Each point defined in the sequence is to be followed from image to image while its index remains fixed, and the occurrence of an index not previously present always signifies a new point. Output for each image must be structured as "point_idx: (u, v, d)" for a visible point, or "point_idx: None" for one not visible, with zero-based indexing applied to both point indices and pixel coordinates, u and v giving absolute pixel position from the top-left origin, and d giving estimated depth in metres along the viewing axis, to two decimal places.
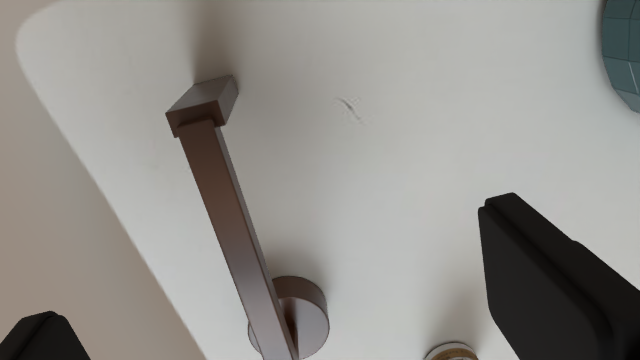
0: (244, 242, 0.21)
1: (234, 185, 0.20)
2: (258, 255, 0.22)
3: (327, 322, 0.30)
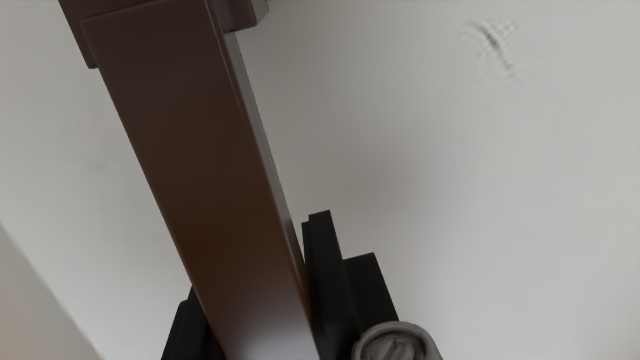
0: None
1: (283, 222, 0.07)
2: None
3: None
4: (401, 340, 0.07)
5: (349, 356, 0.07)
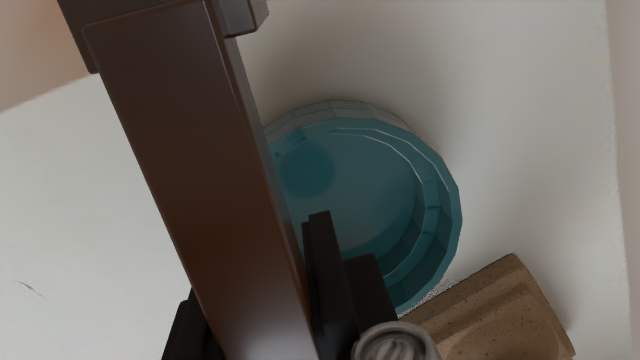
0: None
1: (283, 226, 0.07)
2: None
3: None
4: (401, 340, 0.07)
5: (349, 356, 0.07)
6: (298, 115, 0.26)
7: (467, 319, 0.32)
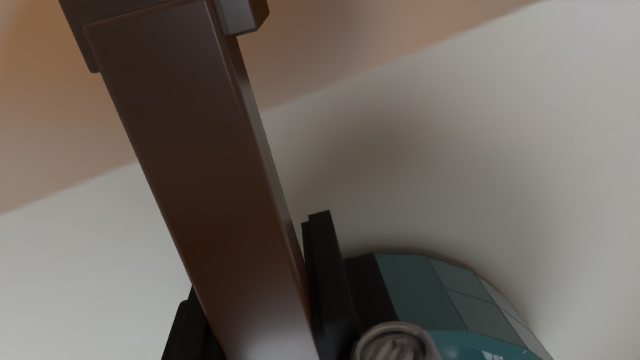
0: None
1: (284, 225, 0.07)
2: None
3: None
4: (401, 340, 0.07)
5: (349, 356, 0.07)
6: None
7: None
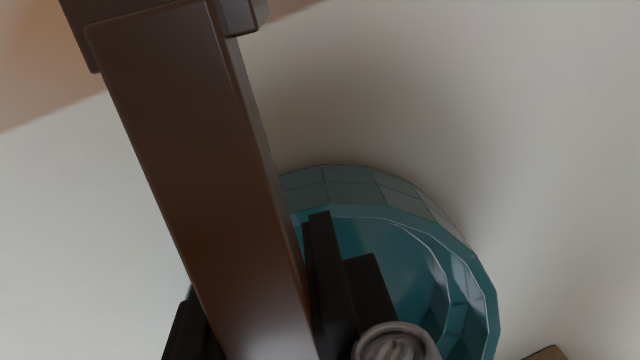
0: None
1: (284, 225, 0.07)
2: None
3: None
4: (401, 340, 0.07)
5: (349, 356, 0.07)
6: None
7: None
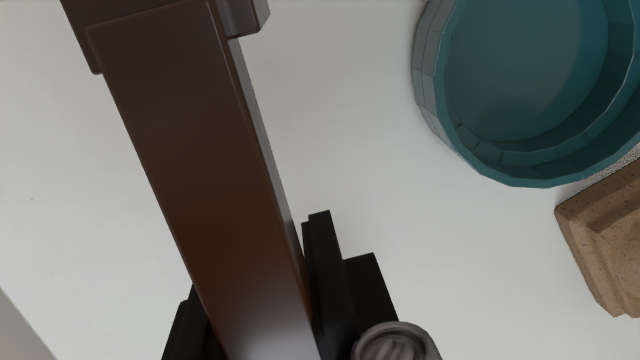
0: None
1: (285, 226, 0.07)
2: None
3: None
4: (401, 340, 0.07)
5: (349, 356, 0.07)
6: None
7: None
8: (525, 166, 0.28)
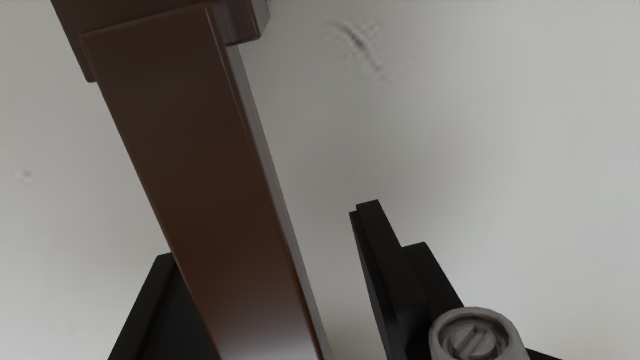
0: None
1: (286, 238, 0.06)
2: None
3: None
4: (482, 326, 0.06)
5: (420, 343, 0.07)
6: None
7: None
8: None
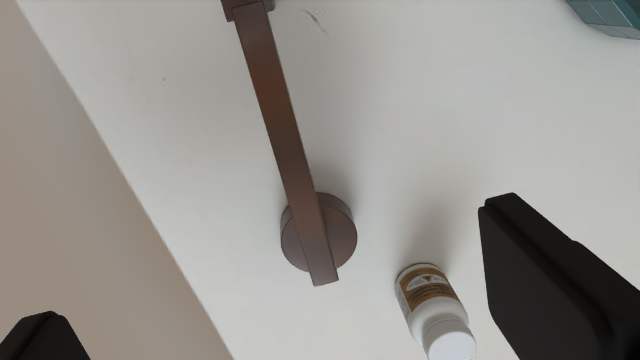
0: (289, 124, 0.23)
1: (281, 68, 0.22)
2: (300, 140, 0.24)
3: (355, 233, 0.32)
4: None
5: None
6: None
7: None
8: None
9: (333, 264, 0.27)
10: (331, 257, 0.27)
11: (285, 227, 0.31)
